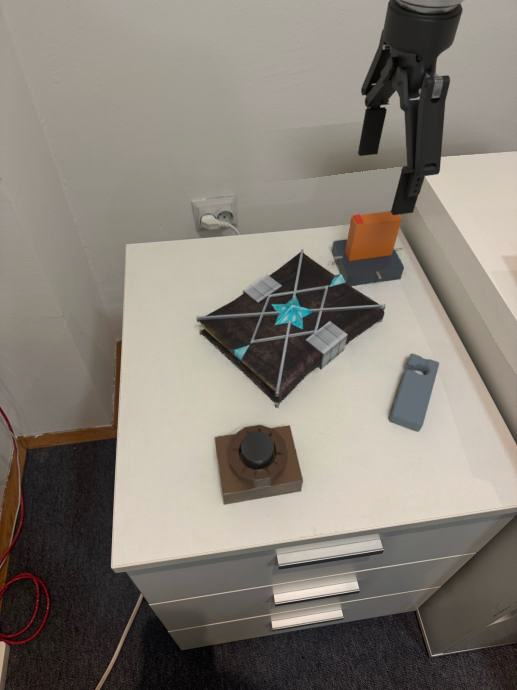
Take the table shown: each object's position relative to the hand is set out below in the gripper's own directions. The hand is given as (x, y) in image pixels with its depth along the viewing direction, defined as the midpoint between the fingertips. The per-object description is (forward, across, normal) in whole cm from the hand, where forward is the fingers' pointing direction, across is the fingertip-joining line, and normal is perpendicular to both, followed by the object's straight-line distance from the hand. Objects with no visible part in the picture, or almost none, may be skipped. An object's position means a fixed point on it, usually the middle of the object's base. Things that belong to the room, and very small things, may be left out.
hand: (383, 181), depth 66 cm
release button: (+11, +31, -24) cm, 40 cm away
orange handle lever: (+13, 0, 0) cm, 13 cm away
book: (+16, +11, -15) cm, 24 cm away
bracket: (+16, +25, -2) cm, 29 cm away
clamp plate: (+16, 0, 0) cm, 16 cm away
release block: (+15, +31, -24) cm, 42 cm away
